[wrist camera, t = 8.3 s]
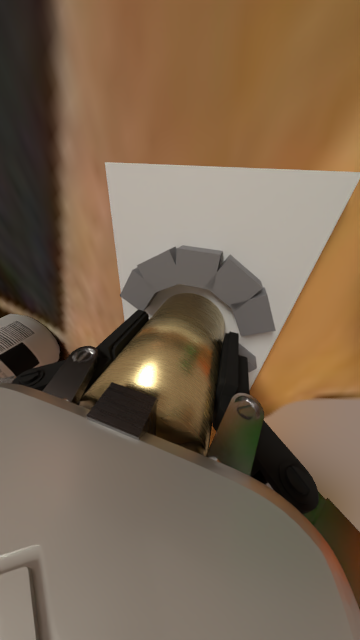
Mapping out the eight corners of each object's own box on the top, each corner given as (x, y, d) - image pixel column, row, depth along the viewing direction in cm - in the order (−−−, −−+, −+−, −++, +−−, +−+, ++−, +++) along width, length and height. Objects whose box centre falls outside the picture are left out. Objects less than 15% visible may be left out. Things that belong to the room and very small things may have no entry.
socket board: (238, 401, 17) (238, 422, 16) (135, 368, 20) (125, 383, 18) (349, 177, 7) (384, 164, 6) (116, 166, 10) (88, 155, 8)
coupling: (234, 296, 11) (224, 473, 3) (215, 361, 14) (188, 520, 7) (159, 280, 12) (24, 390, 4) (158, 344, 15) (80, 467, 8)
